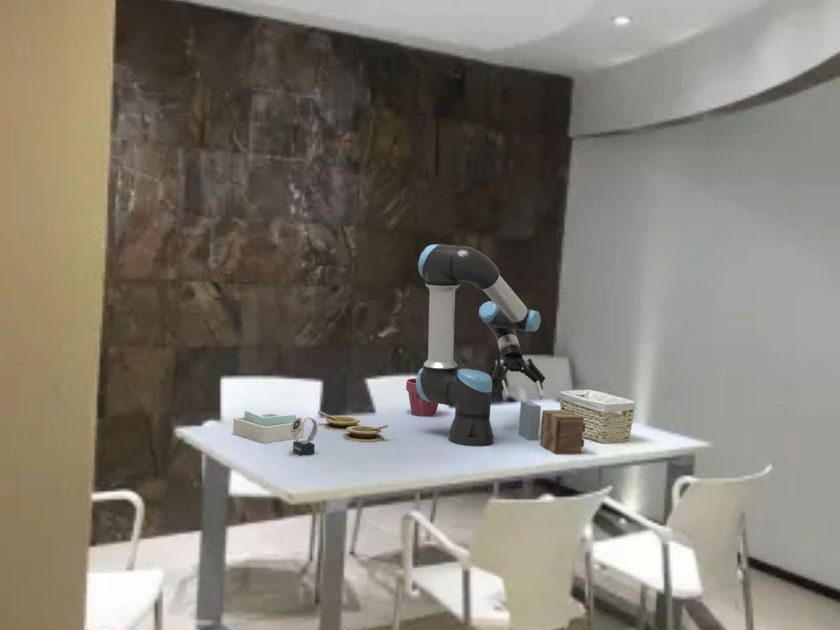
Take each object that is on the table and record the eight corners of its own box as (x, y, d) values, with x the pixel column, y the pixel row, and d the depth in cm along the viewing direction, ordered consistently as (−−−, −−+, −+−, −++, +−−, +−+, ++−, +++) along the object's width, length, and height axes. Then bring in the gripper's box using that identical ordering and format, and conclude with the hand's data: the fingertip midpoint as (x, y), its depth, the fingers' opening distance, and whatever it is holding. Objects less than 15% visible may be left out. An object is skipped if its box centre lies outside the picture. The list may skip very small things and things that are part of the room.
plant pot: (412, 418, 338) (414, 384, 337) (399, 410, 351) (401, 377, 350) (447, 417, 343) (450, 384, 342) (433, 410, 356) (435, 377, 355)
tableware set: (399, 442, 301) (400, 424, 300) (344, 446, 291) (345, 427, 290) (358, 423, 326) (359, 407, 326) (307, 426, 316) (308, 409, 316)
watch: (286, 452, 275) (288, 416, 274) (310, 450, 280) (312, 414, 279) (295, 456, 271) (297, 419, 270) (319, 454, 275) (321, 418, 274)
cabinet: (583, 453, 298) (586, 417, 297) (555, 454, 295) (558, 417, 294) (567, 445, 309) (569, 410, 308) (540, 445, 306) (542, 410, 305)
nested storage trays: (264, 443, 284) (265, 427, 284) (232, 433, 295) (233, 418, 295) (303, 437, 296) (304, 422, 296) (272, 428, 307) (272, 413, 306)
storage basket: (635, 442, 322) (638, 400, 321) (601, 445, 313) (605, 402, 312) (587, 428, 342) (590, 388, 341) (554, 430, 333) (557, 390, 332)
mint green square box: (294, 438, 295) (296, 415, 294) (261, 441, 287) (262, 417, 287) (276, 430, 304) (277, 408, 303) (243, 433, 297) (244, 410, 296)
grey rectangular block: (538, 440, 314) (540, 406, 313) (528, 440, 313) (531, 406, 312) (527, 434, 323) (530, 401, 322) (518, 434, 322) (520, 401, 321)
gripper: (537, 356, 344) (551, 403, 332) (475, 355, 337) (487, 403, 324) (544, 344, 339) (559, 391, 326) (481, 342, 331) (494, 391, 318)
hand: (523, 397), depth 325 cm, fingers open, 13 cm apart
